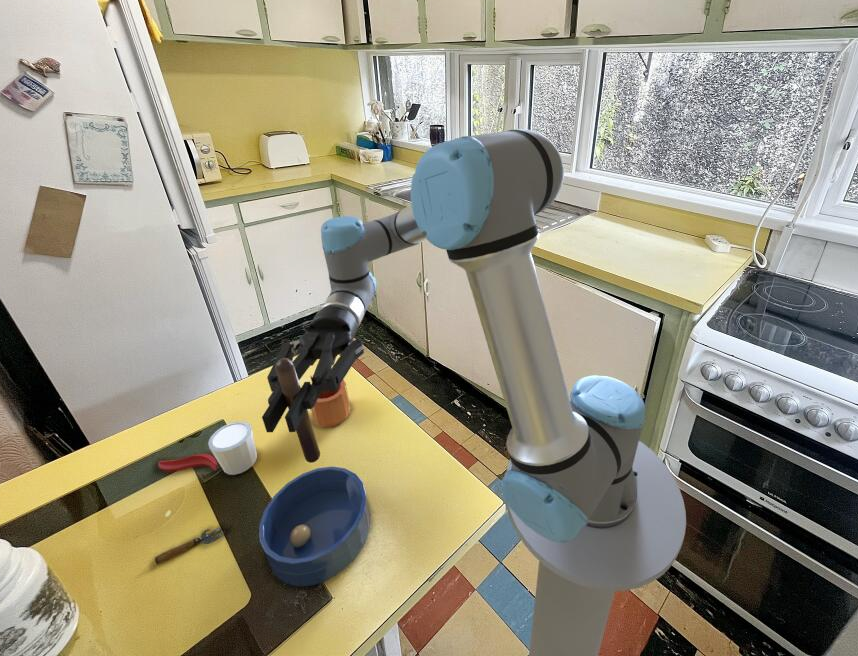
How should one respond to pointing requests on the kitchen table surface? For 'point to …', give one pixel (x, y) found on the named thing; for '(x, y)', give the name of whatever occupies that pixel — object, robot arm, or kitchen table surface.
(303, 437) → the stirring stick
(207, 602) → the kitchen table surface
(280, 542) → the bowl
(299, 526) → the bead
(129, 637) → the kitchen table surface
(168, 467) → the cayenne pepper
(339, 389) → the holder
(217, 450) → the white cup
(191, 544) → the can opener
